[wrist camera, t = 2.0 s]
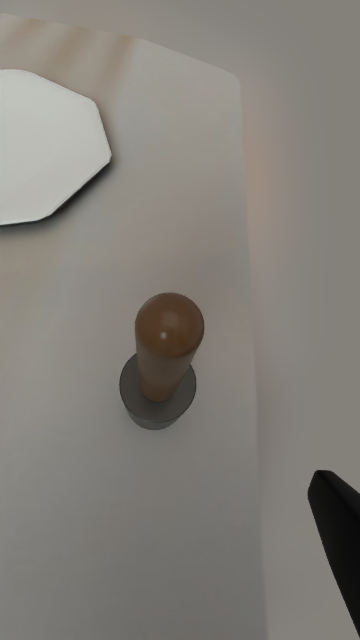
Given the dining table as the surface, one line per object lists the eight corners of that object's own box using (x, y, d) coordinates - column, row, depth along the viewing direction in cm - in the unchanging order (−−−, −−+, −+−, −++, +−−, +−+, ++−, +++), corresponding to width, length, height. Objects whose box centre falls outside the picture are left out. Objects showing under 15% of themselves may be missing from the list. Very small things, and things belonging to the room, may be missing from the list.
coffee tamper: (182, 431, 18) (254, 396, 6) (121, 428, 18) (76, 382, 6) (185, 372, 20) (244, 258, 8) (129, 367, 19) (107, 241, 8)
